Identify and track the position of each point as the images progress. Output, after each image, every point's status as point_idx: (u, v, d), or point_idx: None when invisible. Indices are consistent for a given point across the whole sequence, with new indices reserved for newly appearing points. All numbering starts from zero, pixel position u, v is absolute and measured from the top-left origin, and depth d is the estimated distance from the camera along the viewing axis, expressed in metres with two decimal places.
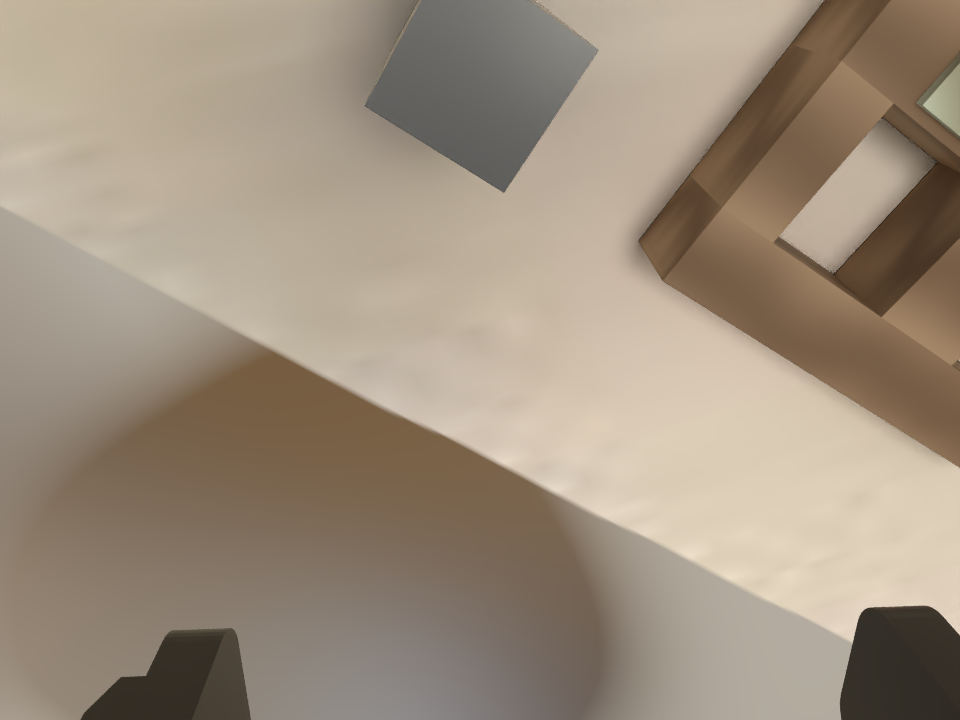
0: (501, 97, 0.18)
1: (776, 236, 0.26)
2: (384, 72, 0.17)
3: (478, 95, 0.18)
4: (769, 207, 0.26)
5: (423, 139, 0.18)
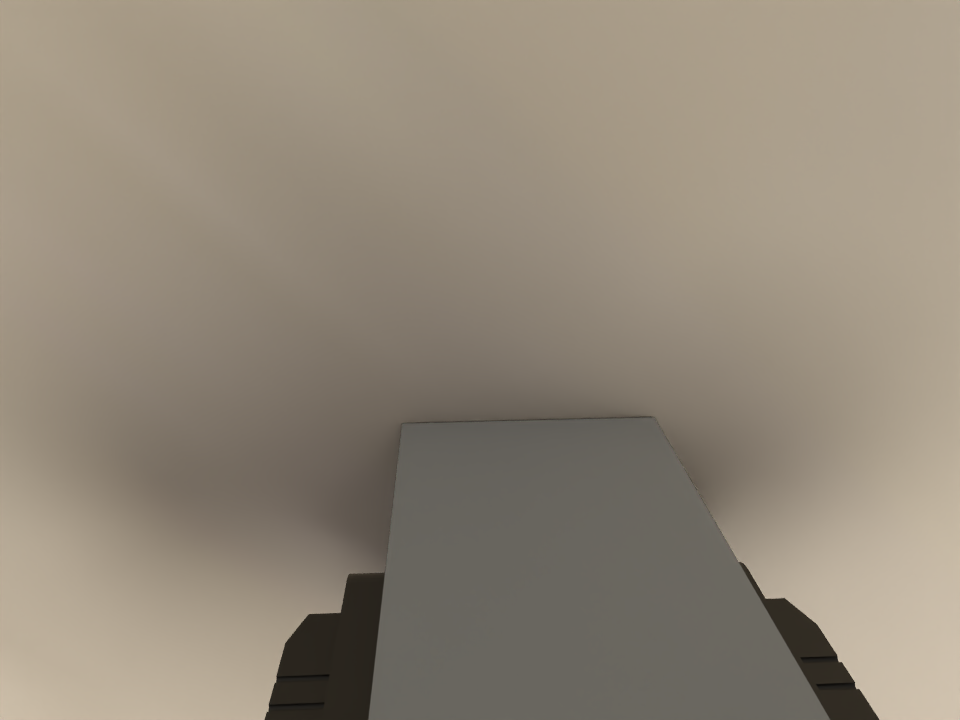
0: None
1: None
2: None
3: None
4: None
5: None
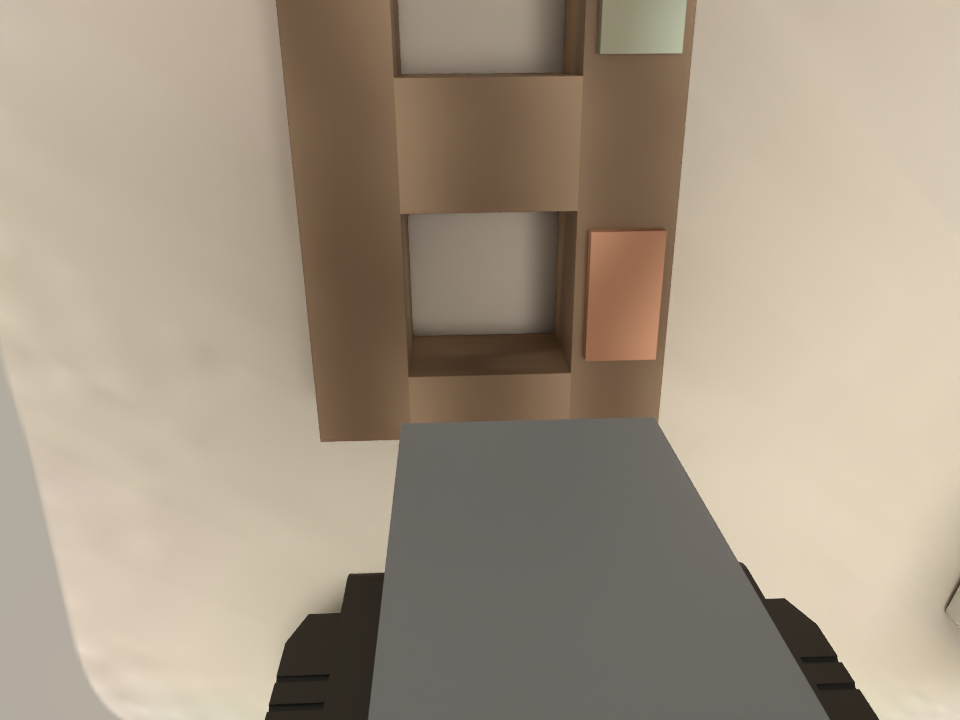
0: None
1: None
2: None
3: None
4: None
5: None
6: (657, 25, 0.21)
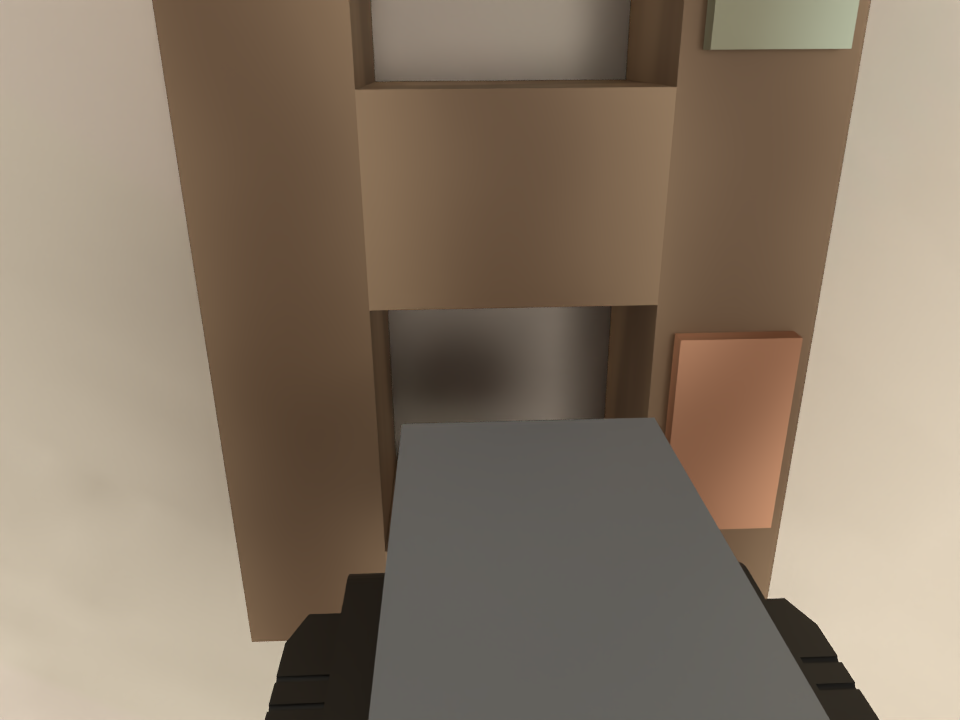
0: None
1: None
2: None
3: None
4: None
5: None
6: (811, 0, 0.12)
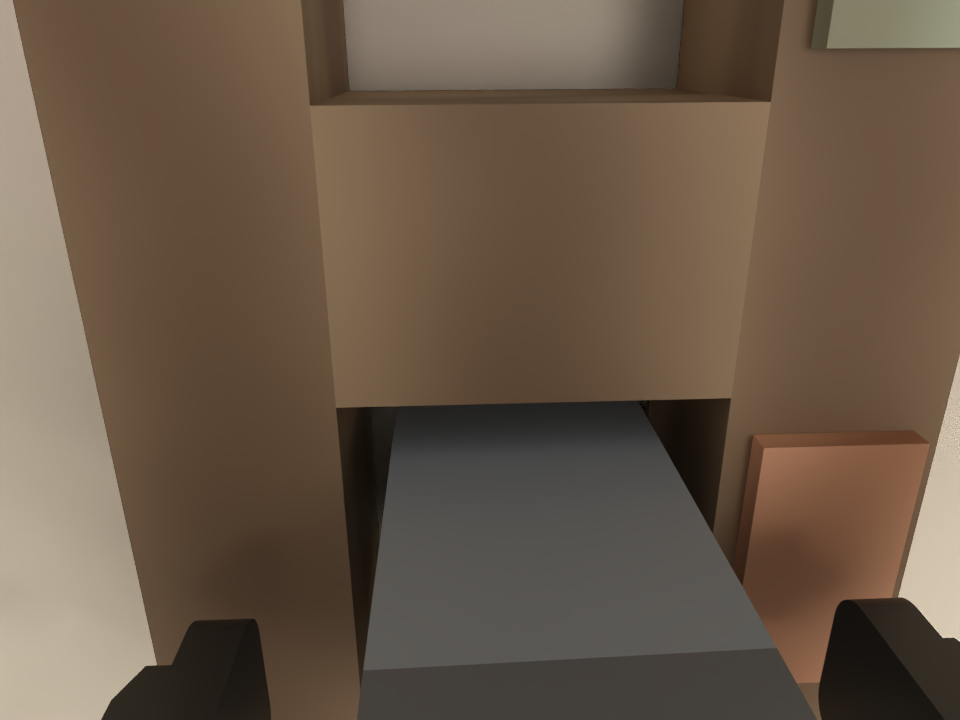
0: None
1: None
2: None
3: None
4: None
5: None
6: None
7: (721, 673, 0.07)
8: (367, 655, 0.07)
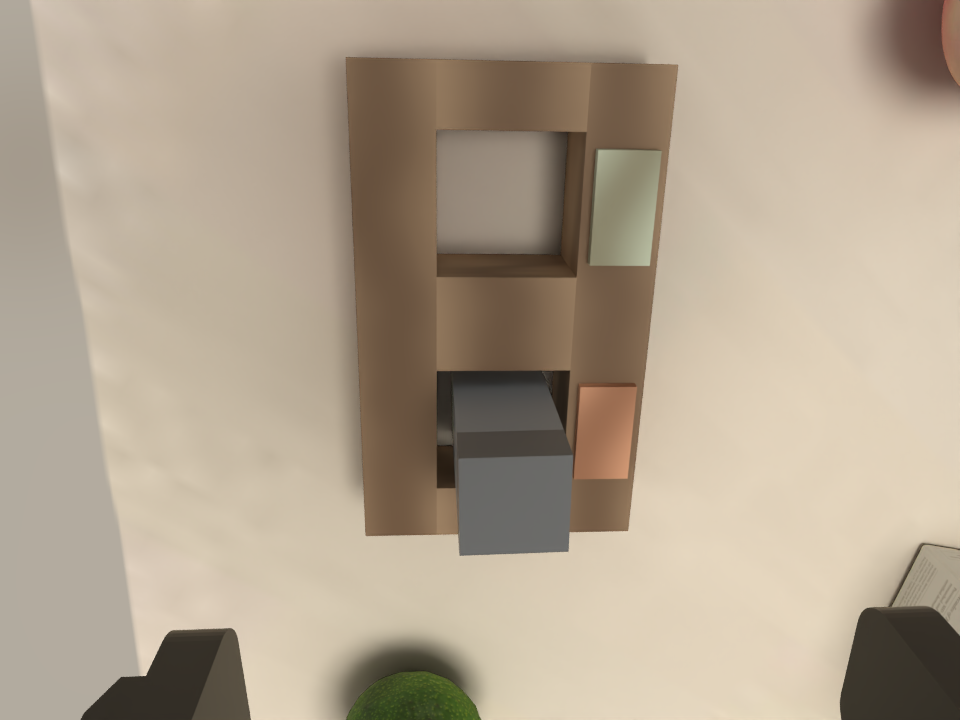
0: (512, 522, 0.27)
1: (442, 127, 0.28)
2: (485, 458, 0.26)
3: (505, 511, 0.27)
4: (460, 100, 0.27)
5: (460, 497, 0.26)
6: (631, 247, 0.29)
7: (547, 433, 0.28)
8: (457, 430, 0.28)
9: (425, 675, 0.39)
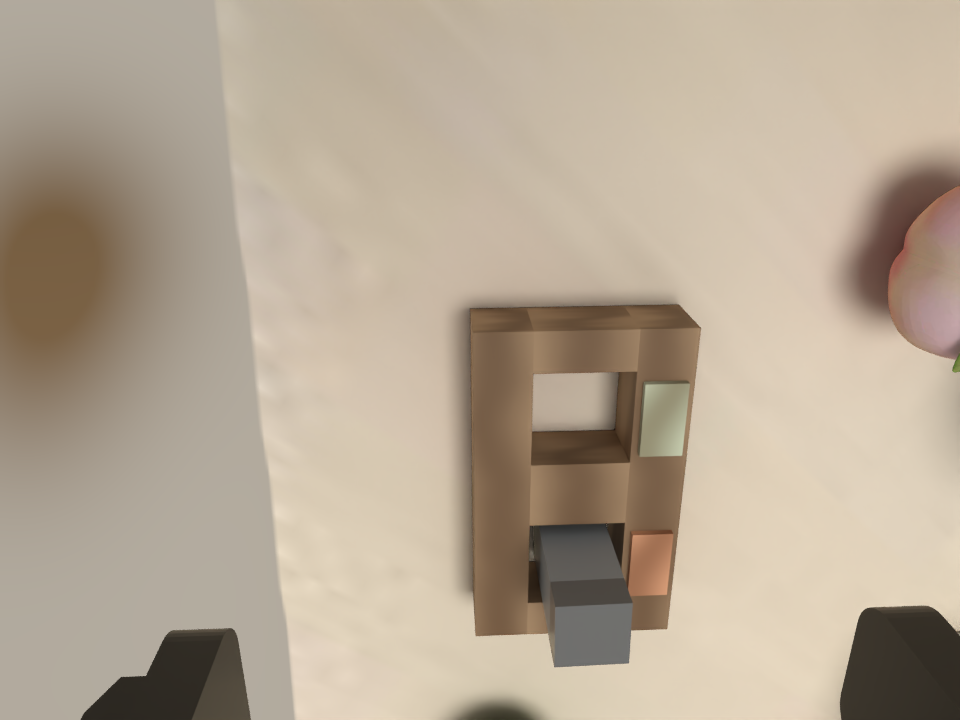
0: (590, 645, 0.39)
1: (537, 372, 0.40)
2: (573, 607, 0.38)
3: (586, 638, 0.39)
4: (550, 355, 0.40)
5: (556, 631, 0.39)
6: (669, 444, 0.41)
7: (613, 582, 0.40)
8: (550, 579, 0.40)
9: None
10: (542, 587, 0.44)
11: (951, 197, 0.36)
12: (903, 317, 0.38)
